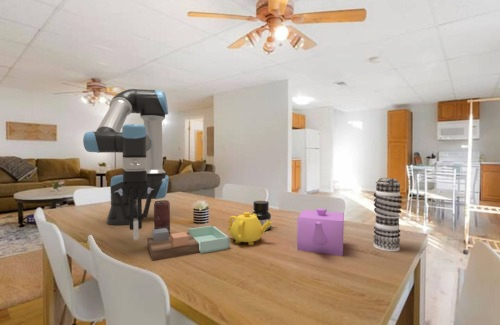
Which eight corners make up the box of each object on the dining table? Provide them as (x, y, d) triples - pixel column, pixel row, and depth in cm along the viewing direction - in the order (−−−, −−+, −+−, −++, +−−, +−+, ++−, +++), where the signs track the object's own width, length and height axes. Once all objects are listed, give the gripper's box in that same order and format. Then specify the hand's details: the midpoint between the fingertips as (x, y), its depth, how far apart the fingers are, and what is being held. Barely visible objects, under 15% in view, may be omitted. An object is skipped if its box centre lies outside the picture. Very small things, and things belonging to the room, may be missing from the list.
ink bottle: (259, 232, 112) (259, 204, 111) (246, 228, 118) (246, 201, 118) (275, 228, 118) (275, 202, 118) (261, 224, 125) (262, 199, 124)
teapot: (272, 244, 98) (273, 214, 98) (239, 249, 92) (239, 218, 92) (255, 233, 111) (255, 207, 111) (225, 237, 105) (225, 210, 105)
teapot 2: (293, 257, 86) (293, 215, 85) (304, 235, 109) (305, 201, 108) (342, 265, 80) (343, 219, 80) (343, 239, 104) (344, 204, 103)
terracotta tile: (170, 242, 90) (170, 234, 90) (185, 240, 93) (185, 232, 93) (173, 247, 86) (173, 238, 86) (188, 244, 88) (188, 236, 88)
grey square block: (152, 237, 95) (151, 229, 95) (166, 235, 97) (166, 228, 97) (154, 242, 91) (153, 233, 91) (168, 239, 93) (168, 231, 93)
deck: (147, 246, 95) (147, 238, 95) (188, 240, 102) (188, 232, 102) (152, 260, 83) (152, 251, 82) (199, 252, 90) (199, 243, 89)
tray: (188, 238, 103) (188, 228, 103) (213, 235, 108) (213, 225, 108) (201, 253, 88) (201, 242, 88) (229, 248, 93) (229, 237, 93)
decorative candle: (390, 253, 89) (392, 180, 88) (366, 245, 97) (368, 178, 96) (406, 249, 93) (408, 179, 92) (383, 241, 102) (384, 177, 101)
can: (165, 237, 104) (165, 203, 104) (151, 236, 106) (151, 202, 105) (173, 233, 110) (173, 200, 110) (159, 232, 112) (159, 199, 111)
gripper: (113, 171, 83) (114, 244, 84) (156, 170, 89) (157, 238, 90) (113, 169, 90) (114, 238, 91) (153, 169, 96) (154, 232, 97)
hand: (135, 238), depth 90 cm, fingers closed
